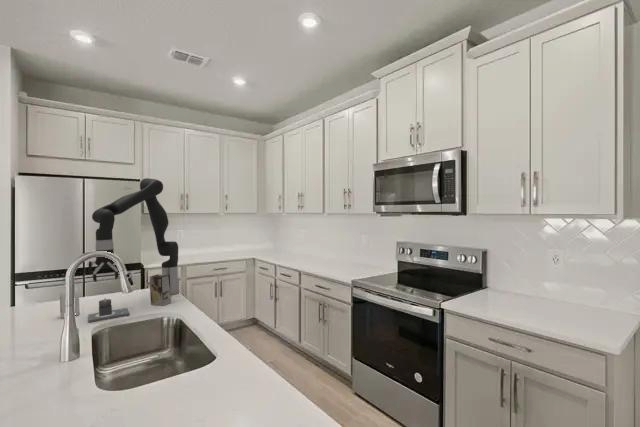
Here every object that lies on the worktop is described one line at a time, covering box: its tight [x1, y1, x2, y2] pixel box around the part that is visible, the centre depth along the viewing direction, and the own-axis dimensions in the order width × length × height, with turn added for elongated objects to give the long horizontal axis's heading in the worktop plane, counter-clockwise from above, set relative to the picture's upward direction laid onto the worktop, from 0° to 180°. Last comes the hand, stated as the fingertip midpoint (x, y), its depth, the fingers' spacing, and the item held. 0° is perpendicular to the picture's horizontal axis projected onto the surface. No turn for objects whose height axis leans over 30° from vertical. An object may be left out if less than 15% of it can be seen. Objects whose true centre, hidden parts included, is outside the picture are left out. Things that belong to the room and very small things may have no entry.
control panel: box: [87, 307, 130, 324], centre depth 162 cm, size 17×11×4 cm, turn 126°
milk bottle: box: [59, 277, 81, 319], centre depth 163 cm, size 8×8×20 cm
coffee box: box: [149, 274, 172, 307], centre depth 182 cm, size 9×6×16 cm
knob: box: [98, 298, 113, 317], centre depth 161 cm, size 5×5×7 cm
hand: (106, 280), depth 162 cm, fingers open, 8 cm apart
